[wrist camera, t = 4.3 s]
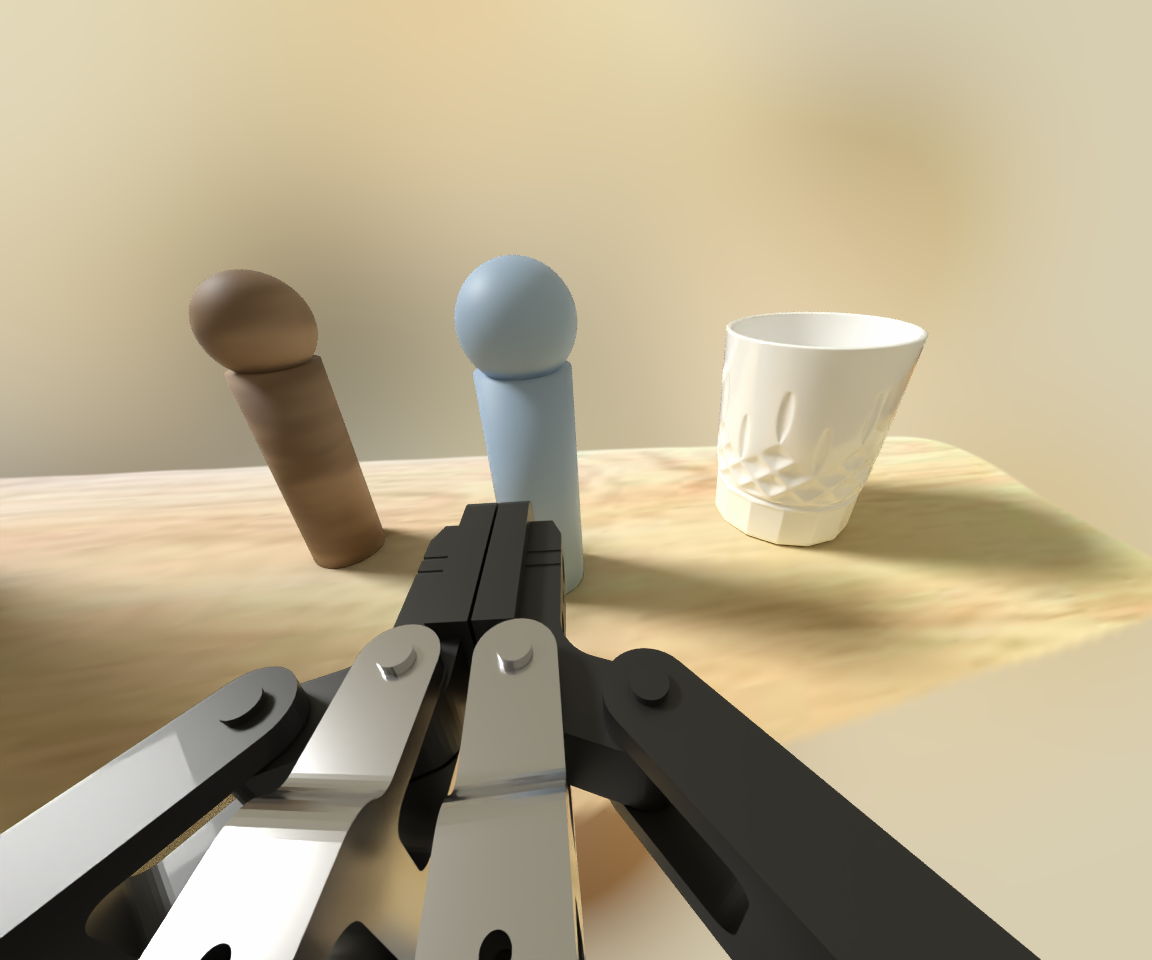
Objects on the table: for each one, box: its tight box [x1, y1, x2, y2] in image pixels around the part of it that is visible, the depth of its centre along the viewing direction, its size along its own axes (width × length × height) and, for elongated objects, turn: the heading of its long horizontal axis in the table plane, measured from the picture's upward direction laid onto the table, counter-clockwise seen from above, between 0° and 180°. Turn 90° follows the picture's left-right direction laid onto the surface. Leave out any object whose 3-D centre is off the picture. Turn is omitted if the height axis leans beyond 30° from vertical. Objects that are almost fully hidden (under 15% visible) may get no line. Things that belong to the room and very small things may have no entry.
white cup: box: [715, 312, 928, 546], centre depth 21 cm, size 8×8×10 cm
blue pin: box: [455, 255, 584, 594], centre depth 17 cm, size 4×4×14 cm
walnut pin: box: [189, 269, 385, 568], centre depth 20 cm, size 4×4×14 cm
